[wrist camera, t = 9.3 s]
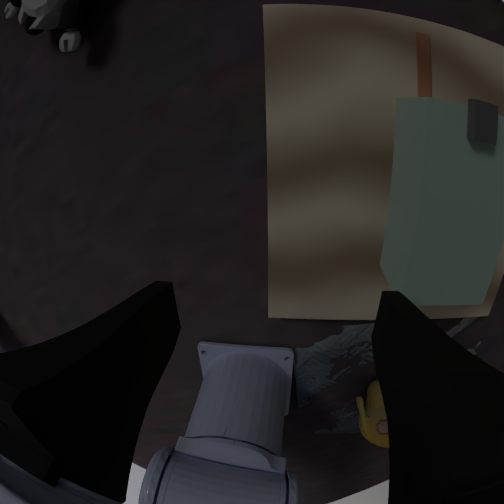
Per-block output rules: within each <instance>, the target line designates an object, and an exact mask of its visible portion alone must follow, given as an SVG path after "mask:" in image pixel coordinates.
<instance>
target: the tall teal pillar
mask: <svg viewBox="0 0 504 504" xmlns="http://www.w3.org/2000/svg"><path fill="white" fill-rule="evenodd" d="M503 238H504V116H501V115H498V106H497V105H494V104H491V103H488V102H484V101H481V100H478V99H468V106H466V105H462V104H459V103H454V102H450V101H446V100H441V99H437V98H432V97H409V98H396V111H395V137H394V153H393V166H392V178H391V188H390V197H389V206H388V214H387V221H386V228H385V235H384V242H383V248H382V254H381V260H380V266H381V268H382V271H383V273H384V275H385V277H386V279H387V282H388V284H389V286H390V288H391V291H399V292H401V293H402V294H403V295H404V296H405V297H407V298H408V299H409V300H410V301H411V302H412V303H413V304H414V305H415V306H442V305H480V304H483V301H484V299H485V296H486V293H487V290H488V288H489V285H490V282H491V279H492V276H493V273H494V269H495V266H496V263H497V260H498V256H499V253H500V249H501V245H502V242H503Z"/></svg>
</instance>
